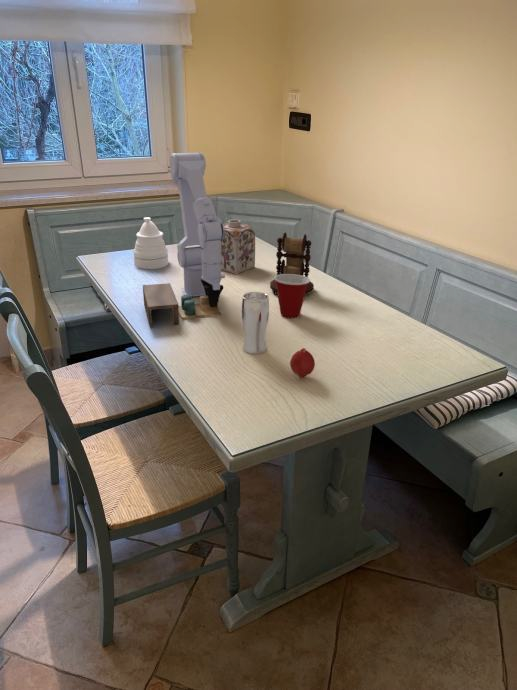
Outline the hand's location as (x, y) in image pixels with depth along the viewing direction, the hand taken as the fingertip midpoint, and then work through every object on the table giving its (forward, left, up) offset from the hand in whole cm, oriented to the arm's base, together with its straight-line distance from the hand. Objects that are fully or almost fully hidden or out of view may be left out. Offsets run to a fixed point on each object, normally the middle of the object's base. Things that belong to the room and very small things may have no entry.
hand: (212, 304), depth 162 cm
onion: (-12, +46, -2) cm, 48 cm away
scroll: (-30, -10, -2) cm, 31 cm away
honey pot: (+14, -51, -2) cm, 53 cm away
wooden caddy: (+16, 0, -2) cm, 16 cm away
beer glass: (-6, +29, -2) cm, 30 cm away
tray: (+4, 0, -2) cm, 5 cm away
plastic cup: (-22, +9, -2) cm, 24 cm away
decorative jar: (-16, -39, -2) cm, 42 cm away
